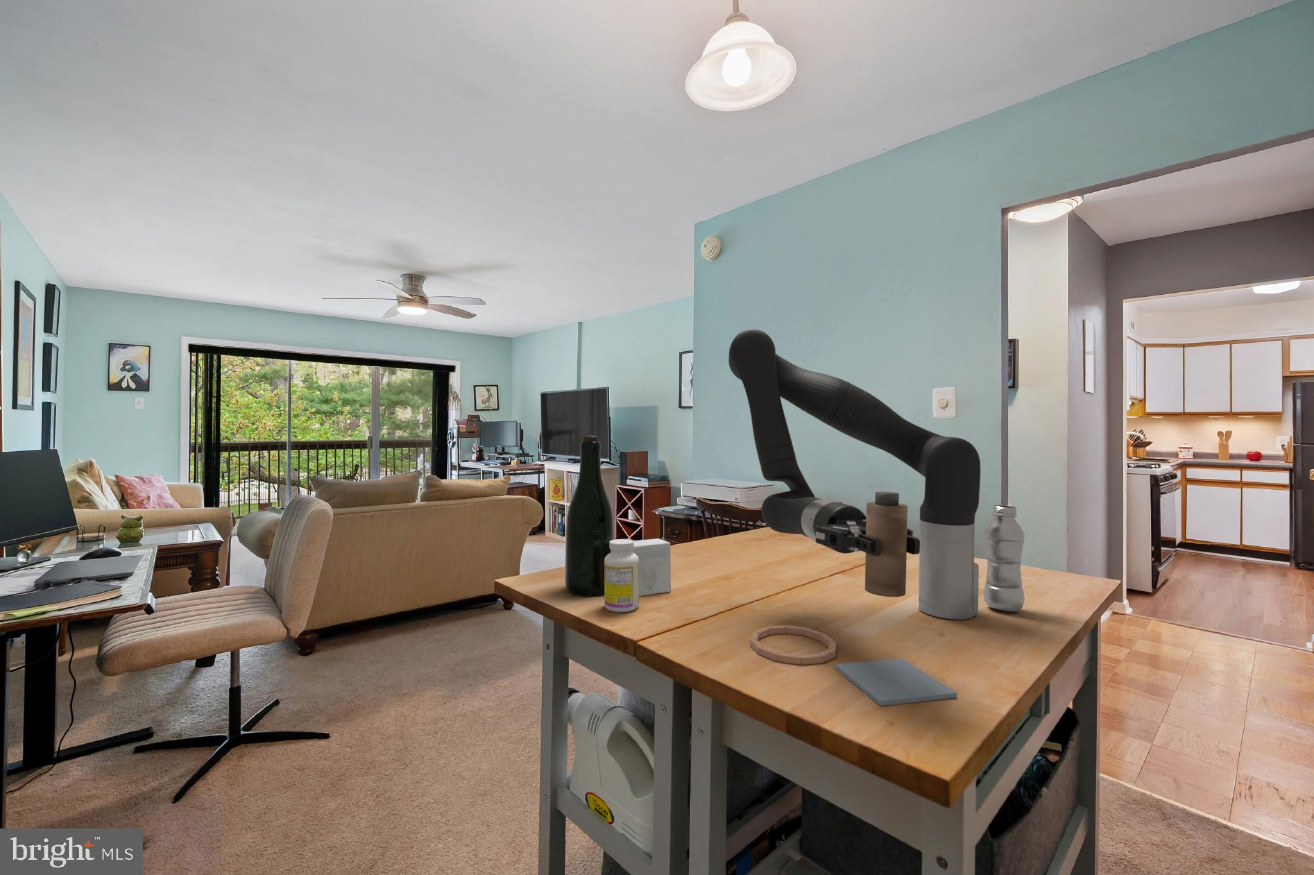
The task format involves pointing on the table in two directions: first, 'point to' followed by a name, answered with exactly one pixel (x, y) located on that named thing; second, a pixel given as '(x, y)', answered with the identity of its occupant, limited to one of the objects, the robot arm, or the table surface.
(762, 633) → the pinkish tan segmented ring
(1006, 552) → the plastic bottle
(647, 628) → the table surface
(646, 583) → the skincare box
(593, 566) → the wine bottle
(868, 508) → the pepper mill
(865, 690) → the mat
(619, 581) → the supplement bottle
